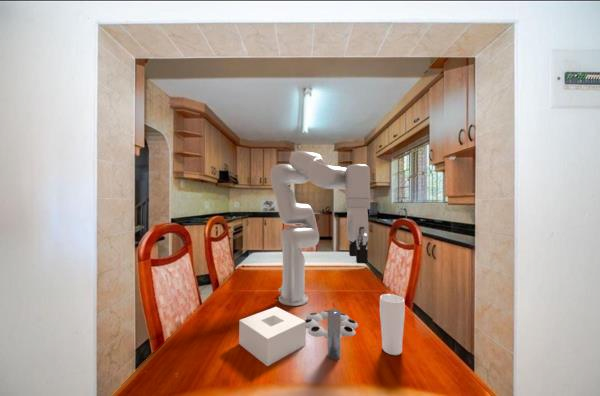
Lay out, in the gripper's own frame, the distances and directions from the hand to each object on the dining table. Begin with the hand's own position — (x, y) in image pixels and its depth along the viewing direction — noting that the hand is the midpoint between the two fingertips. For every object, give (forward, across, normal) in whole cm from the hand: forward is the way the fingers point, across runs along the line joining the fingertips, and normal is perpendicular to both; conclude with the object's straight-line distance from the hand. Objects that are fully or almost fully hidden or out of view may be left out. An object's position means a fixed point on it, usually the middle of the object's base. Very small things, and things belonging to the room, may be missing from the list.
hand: (357, 259), depth 77 cm
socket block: (+25, +3, -26) cm, 36 cm away
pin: (+25, +8, -9) cm, 27 cm away
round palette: (+25, -10, -8) cm, 28 cm away
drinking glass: (+25, +6, +8) cm, 27 cm away
